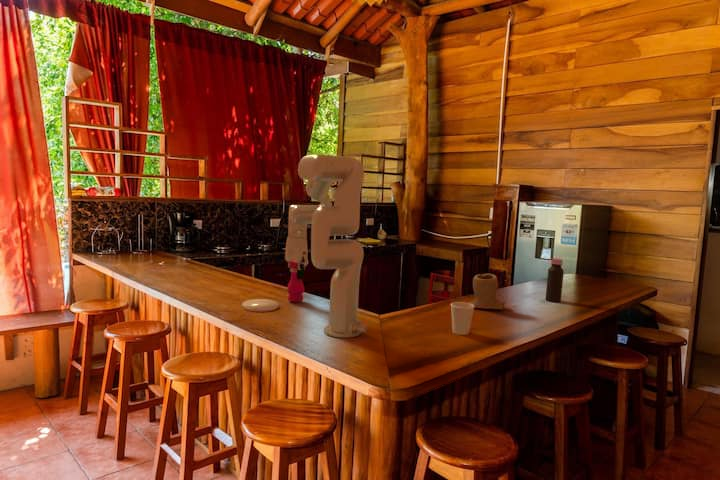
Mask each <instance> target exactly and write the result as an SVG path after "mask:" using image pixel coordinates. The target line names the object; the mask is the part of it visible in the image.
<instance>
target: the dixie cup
mask: <svg viewBox="0 0 720 480" xmlns="http://www.w3.org/2000/svg"><path fill="white" fill-rule="evenodd" d="M450 308H451V310H450V311H451V328H452V333H453V334H455V335H460V336H467V335H469V334H470V329H471V324H472V319H473V315H474V309H475V306H474V305H473V304H470V303H469V302H464V301H453V302H451V303H450Z"/></svg>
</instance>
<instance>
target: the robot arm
mask: <svg viewBox="0 0 720 480" xmlns="http://www.w3.org/2000/svg"><path fill="white" fill-rule="evenodd" d="M297 174H298V176H299V178H300V179H301V180H304V181H307V183H306V185H305V192H306V194H307V195H308V196H309V197H310V198H312V199H313V200H315V201H317V202H319V203H320V204H319V205H315V204H313V205H312V204H292V205H289V207H288V228H287V229H288V230H287V231H288V232H287V233H288V234H287V237H286V243H285V251H284V252H285V253H284V260H285V261H286V263H287V268H288V278H291V271H290V270H291V269H290V268H291V266H290V264H289V261H292V262H294V263H298V270H297V279H298V280H299V279H302V280H304V279H305V270H306V267H307V266H308V264H309V259H308V254H309V253H308V251H309V250H308V240H307V231H308V229H307V228H308V227H307V226H308V224H309V225H311V228H310V229H311V231H310V232H311V238H310V239H311V241H310V257H311V263H312V265H313V266H314V267H315V268H316V269H320V270H335V271H334V272H333V275H332V277H331V280H330V293H329V296H330V297H329V312H328V313H329V314H328V315H329V317H328V319H329V320H328V325H326V326H325V327H324V328H323V332H324V334H325V335H327V336H330V337H333V338H341V339H342V338H343V339H344V338H347V339H348V338H356V337H358V336H360V335H361V334H365V333H366V332H367V327H368V326H367V325H364V324H361V319H358V313H359V312H358V311H359V310H358V308H359V292H360V290H359V289H360V288H359V287H360V278H361V269H362V264H363V260H364V248H363V245H362V243H360V242H359V241H357V240H355V239H349V238H348V239H330V236H352V235H356V233H358V231H359V229H360V219H361V218H360V217H361V216H360V215H361V214H360V213H361V212H360V211H361V190H362V186H363V182H364V178H365V169H364V166H363V163H362V162H361V161H360V160H359V159H357V158H355V157H352V156H344V155H329V154H318V153H317V154H310V155H309V154H308V155H305V156H303V157H302V158H300V160H299V162H298V165H297ZM334 182H340V183H339V184H338V185H337V187H336V189H335V191H334V196H333V198H334V203H333V206H332V201H331V200H332V199H331V197H330V195H329V191H330V190H331V187H332V186H333V183H334ZM301 261H303V262H301ZM300 264H302V265H301V266H300Z"/></svg>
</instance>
